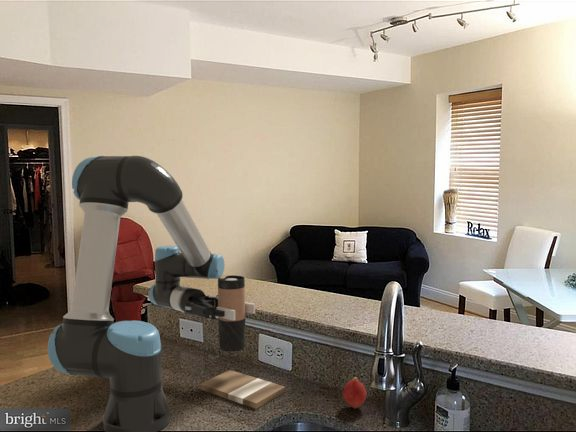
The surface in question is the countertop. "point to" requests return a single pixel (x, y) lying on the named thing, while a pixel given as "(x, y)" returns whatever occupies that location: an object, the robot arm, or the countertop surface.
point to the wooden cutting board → (243, 388)
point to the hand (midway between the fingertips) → (244, 312)
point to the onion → (354, 393)
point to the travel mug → (234, 298)
